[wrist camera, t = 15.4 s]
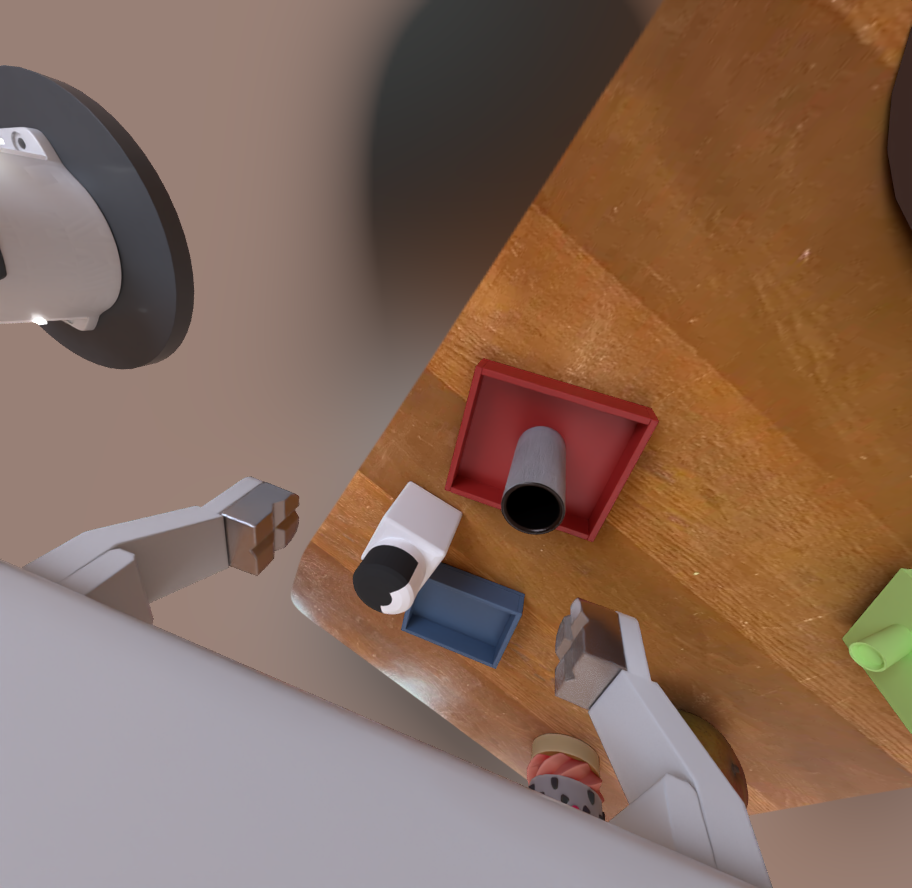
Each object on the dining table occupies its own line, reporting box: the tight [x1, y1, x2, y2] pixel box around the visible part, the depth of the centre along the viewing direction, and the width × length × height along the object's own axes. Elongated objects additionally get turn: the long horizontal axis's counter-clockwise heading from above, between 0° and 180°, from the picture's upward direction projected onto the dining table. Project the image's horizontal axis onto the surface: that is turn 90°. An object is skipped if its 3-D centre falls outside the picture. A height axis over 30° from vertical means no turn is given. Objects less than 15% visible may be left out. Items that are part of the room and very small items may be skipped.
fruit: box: [677, 709, 748, 808], centre depth 43 cm, size 12×12×10 cm
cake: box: [527, 734, 605, 821], centre depth 50 cm, size 10×11×15 cm
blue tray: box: [401, 562, 525, 669], centre depth 47 cm, size 13×11×3 cm
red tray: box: [445, 358, 659, 542], centre depth 34 cm, size 15×13×3 cm
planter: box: [501, 426, 566, 535], centre depth 31 cm, size 4×4×10 cm
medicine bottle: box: [353, 482, 462, 614], centre depth 38 cm, size 7×7×12 cm
